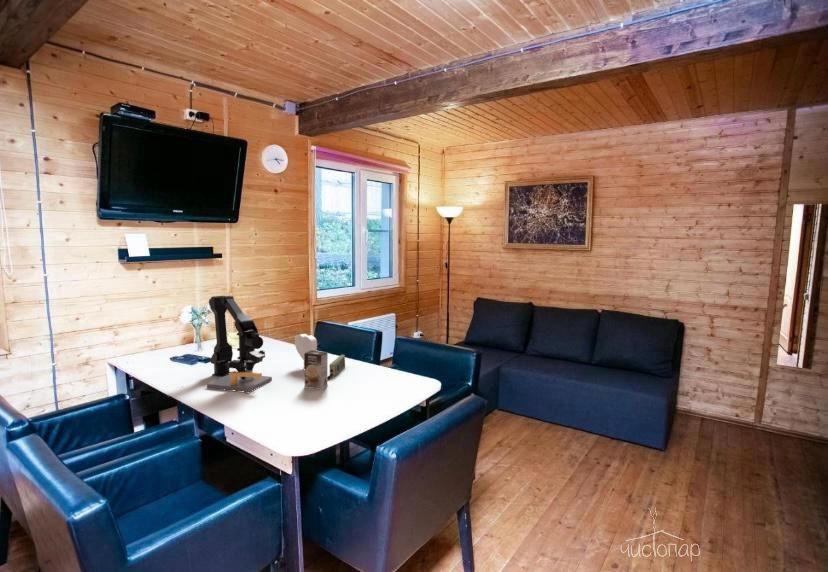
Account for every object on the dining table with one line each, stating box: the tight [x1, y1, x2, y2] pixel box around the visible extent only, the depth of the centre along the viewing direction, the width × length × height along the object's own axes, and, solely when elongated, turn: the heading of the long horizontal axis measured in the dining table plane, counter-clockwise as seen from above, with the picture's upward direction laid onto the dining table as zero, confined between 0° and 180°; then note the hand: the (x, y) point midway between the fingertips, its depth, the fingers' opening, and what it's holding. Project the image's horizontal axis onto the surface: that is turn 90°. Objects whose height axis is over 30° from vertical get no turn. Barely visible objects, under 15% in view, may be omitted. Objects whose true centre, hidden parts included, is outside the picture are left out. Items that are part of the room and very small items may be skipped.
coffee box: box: [303, 350, 329, 390], centre depth 205 cm, size 9×6×16 cm
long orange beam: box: [230, 370, 263, 385], centre depth 199 cm, size 3×14×6 cm, turn 82°
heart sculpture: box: [294, 333, 318, 369], centre depth 234 cm, size 16×5×18 cm, turn 47°
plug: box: [240, 369, 254, 381], centre depth 209 cm, size 4×4×6 cm
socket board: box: [206, 373, 273, 393], centre depth 208 cm, size 22×18×2 cm
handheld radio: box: [327, 354, 346, 380], centre depth 228 cm, size 7×3×25 cm
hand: (246, 378), depth 209 cm, fingers closed on plug, 4 cm apart
